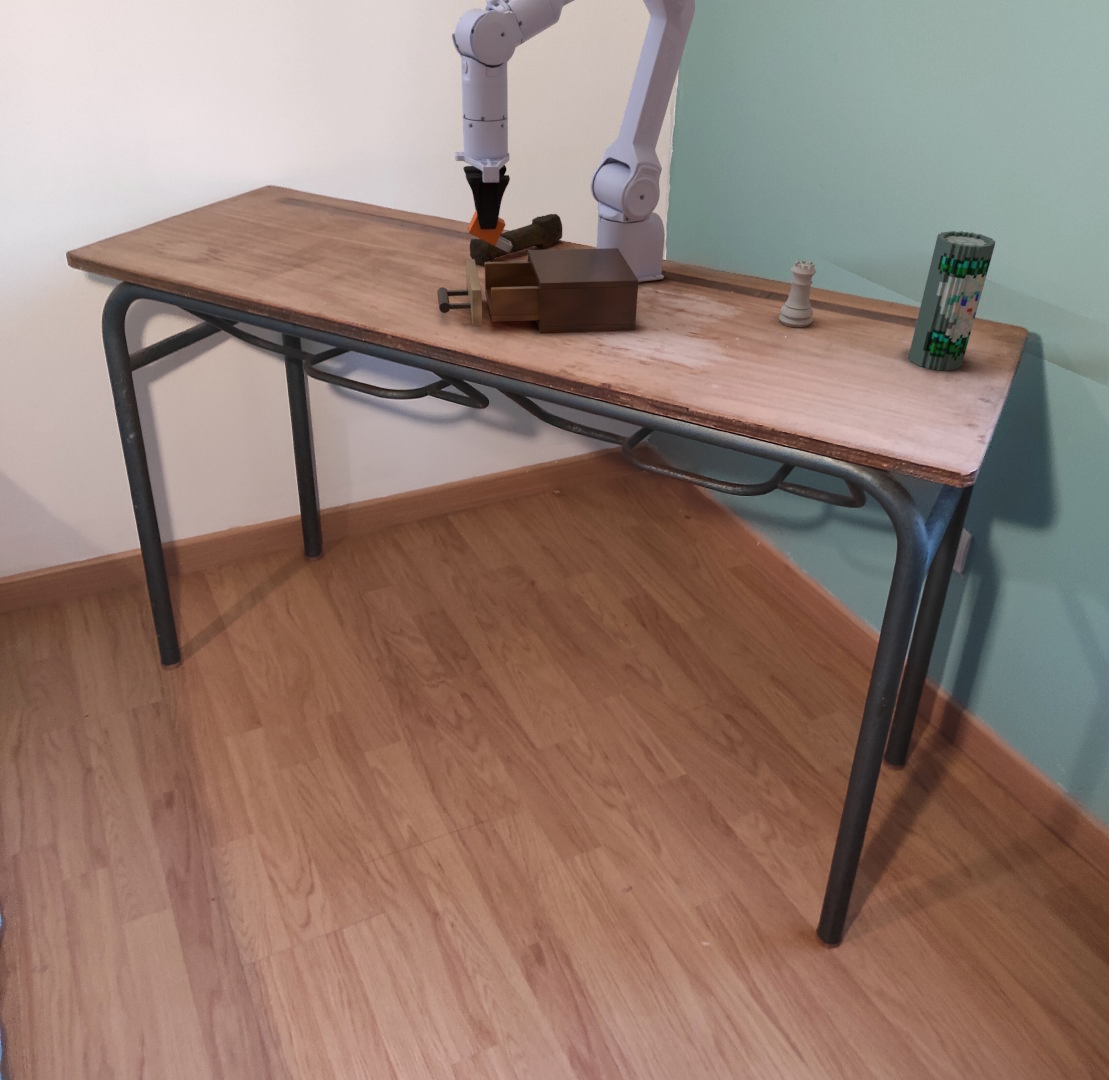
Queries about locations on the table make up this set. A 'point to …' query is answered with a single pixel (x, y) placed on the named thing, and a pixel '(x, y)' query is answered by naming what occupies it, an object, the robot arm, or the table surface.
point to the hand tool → (520, 239)
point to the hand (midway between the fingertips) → (487, 225)
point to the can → (951, 299)
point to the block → (490, 233)
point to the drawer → (498, 292)
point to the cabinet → (584, 290)
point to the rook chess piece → (799, 296)
